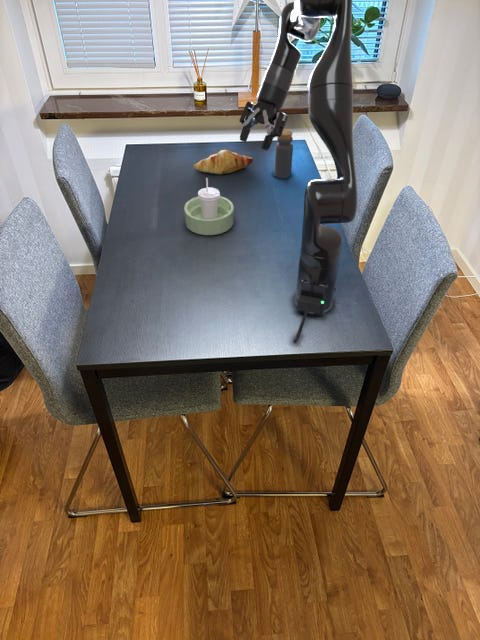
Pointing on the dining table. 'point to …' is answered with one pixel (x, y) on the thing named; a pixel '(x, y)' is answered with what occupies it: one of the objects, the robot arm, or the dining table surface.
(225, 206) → the bowl
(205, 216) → the smoothie
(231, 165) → the croissant
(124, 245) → the dining table surface
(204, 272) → the dining table surface
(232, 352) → the dining table surface
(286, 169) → the bottle
